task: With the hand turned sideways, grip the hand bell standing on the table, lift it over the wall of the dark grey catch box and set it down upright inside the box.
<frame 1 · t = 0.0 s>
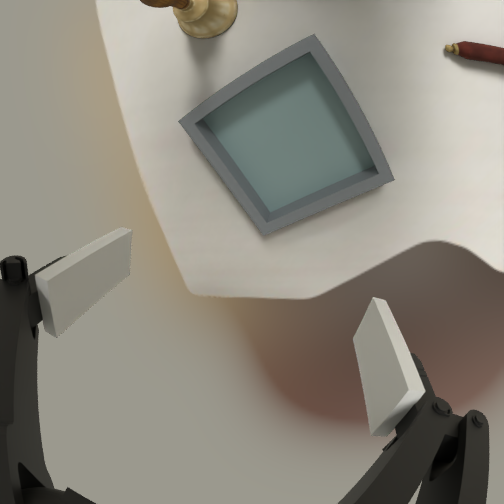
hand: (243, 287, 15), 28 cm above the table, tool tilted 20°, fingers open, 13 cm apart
gavel: (500, 56, 19), on the table
catch box: (290, 135, 36), on the table
hand bell: (207, 11, 27), on the table
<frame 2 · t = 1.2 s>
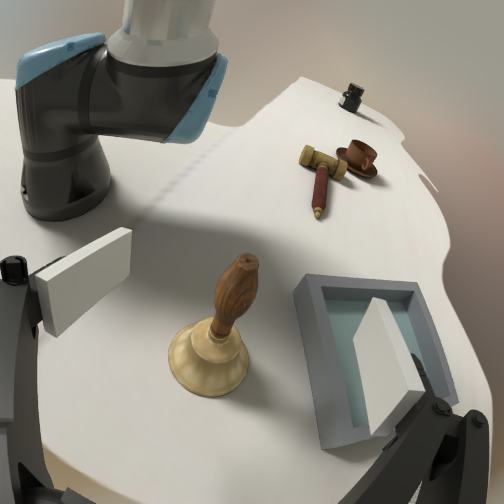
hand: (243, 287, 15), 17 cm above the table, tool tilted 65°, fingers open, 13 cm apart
cup and saucer: (353, 167, 69), on the table
ink bottle: (346, 108, 111), on the table
gavel: (317, 190, 56), on the table
catch box: (374, 359, 33), on the table
hand bell: (208, 359, 28), on the table
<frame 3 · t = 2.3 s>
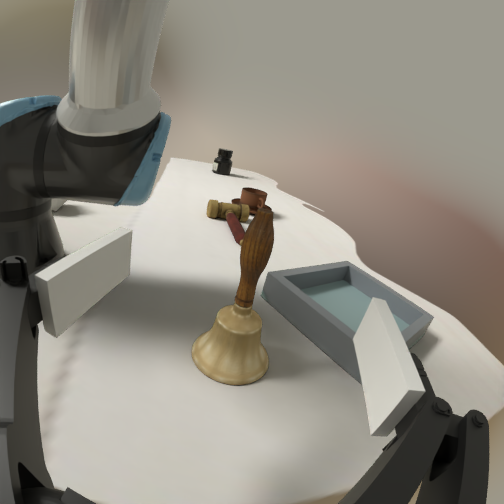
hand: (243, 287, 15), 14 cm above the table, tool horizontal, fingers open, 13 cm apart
cup and saucer: (250, 211, 85), on the table
ink bottle: (220, 173, 138), on the table
gavel: (232, 232, 66), on the table
grey polyhedron block: (52, 208, 53), on the table
catch box: (350, 319, 41), on the table
hand bell: (230, 357, 29), on the table
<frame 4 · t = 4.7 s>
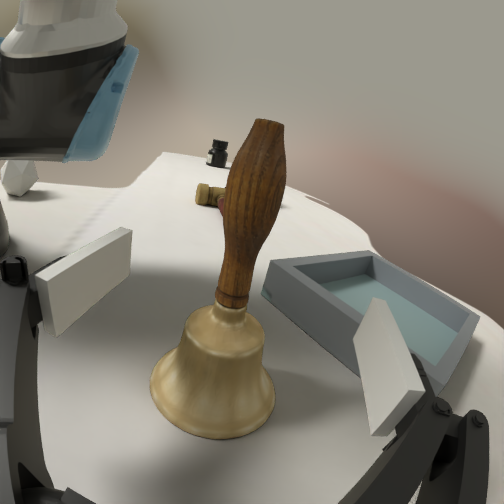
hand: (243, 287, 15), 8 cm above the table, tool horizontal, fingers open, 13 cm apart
ink bottle: (215, 166, 127), on the table
gavel: (225, 220, 54), on the table
grey polyhedron block: (18, 194, 41), on the table
catch box: (381, 324, 30), on the table
hand bell: (212, 389, 17), on the table
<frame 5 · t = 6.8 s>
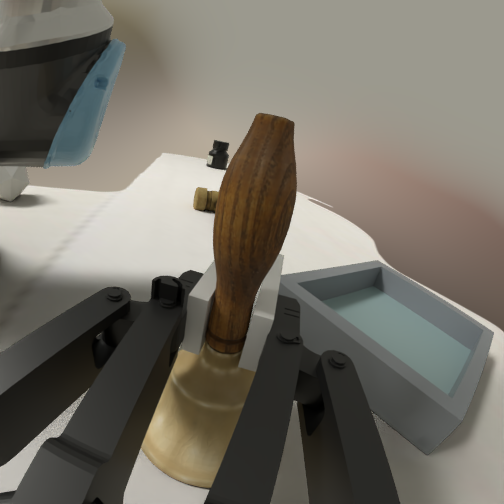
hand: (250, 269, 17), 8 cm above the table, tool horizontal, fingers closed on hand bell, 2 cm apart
ink bottle: (215, 168, 124), on the table
gavel: (224, 227, 51), on the table
grey polyhedron block: (9, 198, 39), on the table
catch box: (391, 343, 26), on the table
hand bell: (205, 429, 14), on the table, touching gripper
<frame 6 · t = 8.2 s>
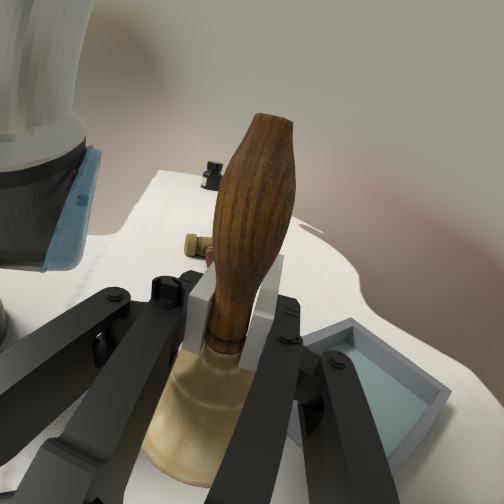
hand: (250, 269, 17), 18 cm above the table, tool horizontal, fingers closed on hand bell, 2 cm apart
ink bottle: (210, 188, 128), on the table
gavel: (212, 276, 54), on the table
catch box: (351, 403, 30), on the table
hand bell: (206, 429, 14), point 10 cm above the table, touching gripper
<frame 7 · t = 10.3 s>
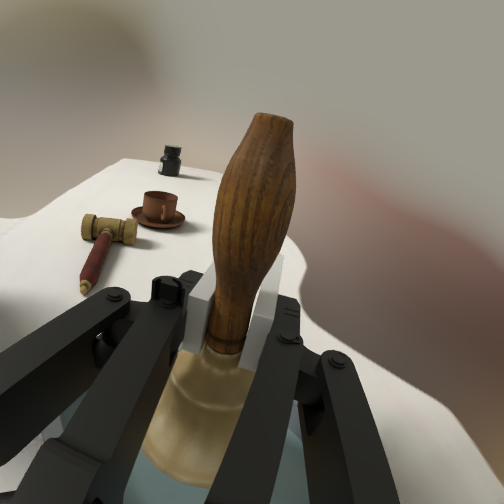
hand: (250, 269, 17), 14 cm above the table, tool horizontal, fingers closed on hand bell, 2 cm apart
cup and saucer: (157, 223, 61), on the table
ink bottle: (168, 174, 114), on the table
gavel: (99, 263, 40), on the table
catch box: (193, 462, 17), on the table
hand bell: (206, 429, 14), point 6 cm above the table, touching gripper
when the fingers open (11 cm above the table, at t = 11.3 s): hand bell drops 2 cm, resting on catch box.
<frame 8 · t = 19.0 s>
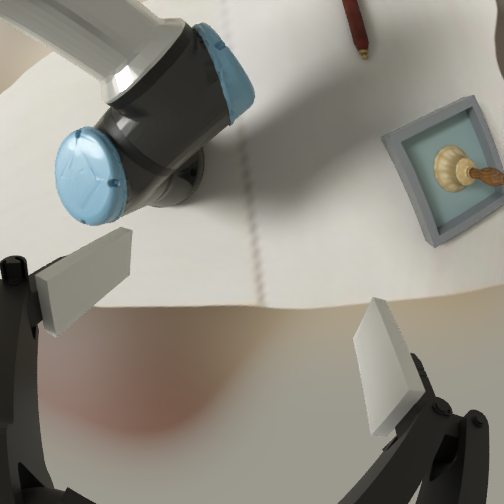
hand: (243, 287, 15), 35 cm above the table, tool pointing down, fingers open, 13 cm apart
gavel: (350, 12, 34), on the table
catch box: (449, 167, 40), on the table
hand bell: (451, 168, 39), point 1 cm above the table, touching catch box
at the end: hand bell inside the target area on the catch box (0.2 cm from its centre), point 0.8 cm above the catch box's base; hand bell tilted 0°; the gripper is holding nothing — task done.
